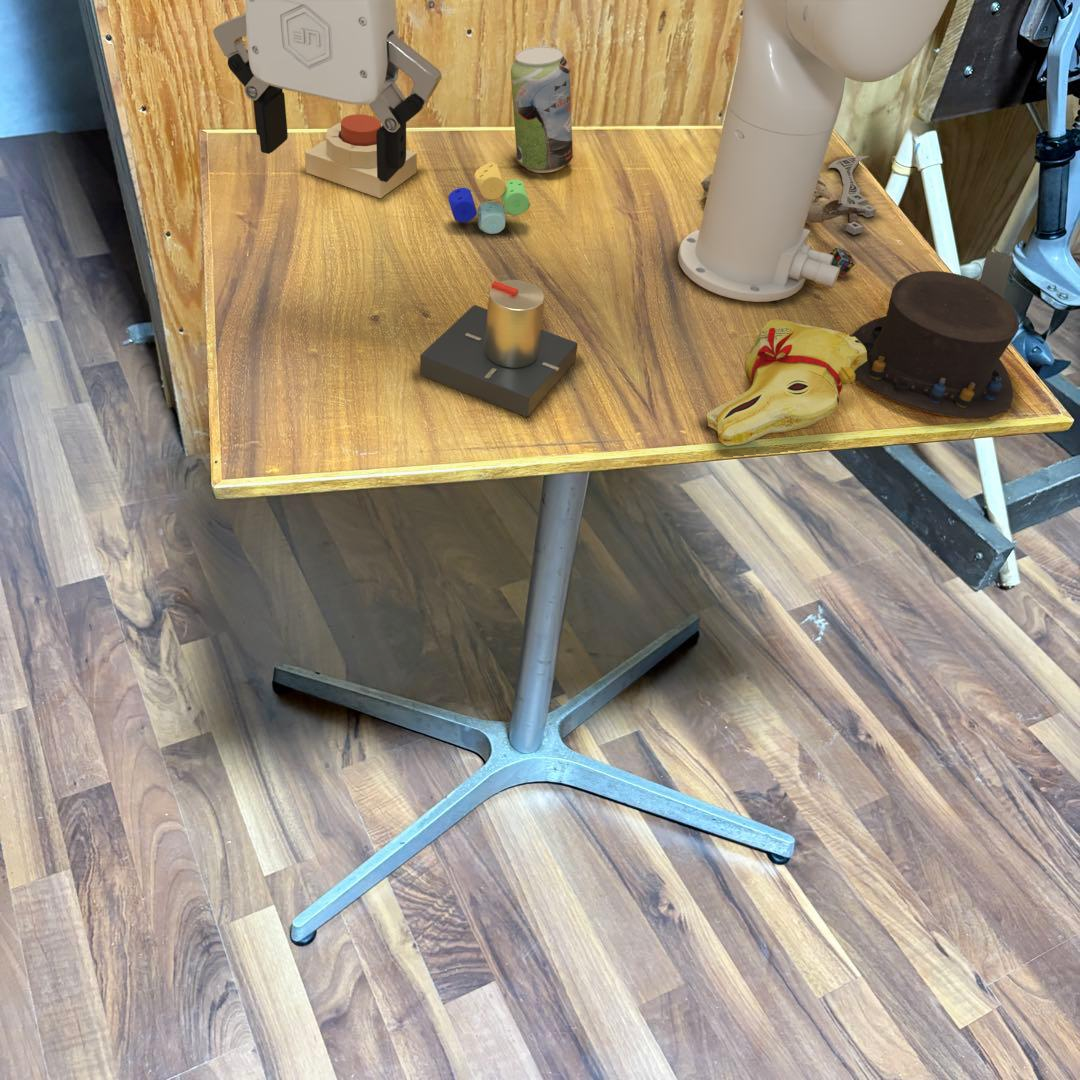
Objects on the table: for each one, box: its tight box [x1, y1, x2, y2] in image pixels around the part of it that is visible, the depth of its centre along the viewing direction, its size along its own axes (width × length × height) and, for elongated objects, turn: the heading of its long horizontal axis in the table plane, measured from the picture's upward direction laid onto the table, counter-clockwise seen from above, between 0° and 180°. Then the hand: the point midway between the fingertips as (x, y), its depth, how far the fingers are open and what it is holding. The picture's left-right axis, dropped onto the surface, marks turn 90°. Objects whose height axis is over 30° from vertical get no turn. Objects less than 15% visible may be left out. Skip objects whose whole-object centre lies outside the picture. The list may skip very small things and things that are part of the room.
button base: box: [304, 122, 418, 199], centre depth 110 cm, size 9×7×4 cm
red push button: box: [340, 113, 382, 146], centre depth 108 cm, size 4×4×2 cm
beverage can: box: [510, 45, 574, 174], centre depth 112 cm, size 6×7×12 cm
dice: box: [447, 162, 531, 235], centre depth 103 cm, size 8×3×6 cm, turn 100°
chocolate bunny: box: [706, 318, 867, 447], centre depth 86 cm, size 7×11×15 cm
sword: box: [828, 155, 877, 236], centre depth 119 cm, size 20×1×5 cm
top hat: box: [851, 250, 1020, 419], centre depth 91 cm, size 15×15×10 cm
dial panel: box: [419, 304, 578, 418], centre depth 89 cm, size 10×9×2 cm
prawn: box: [805, 179, 866, 278], centre depth 111 cm, size 25×12×7 cm, turn 11°
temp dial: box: [485, 279, 546, 368], centre depth 86 cm, size 4×4×6 cm
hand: (331, 160), depth 82 cm, fingers open, 9 cm apart
